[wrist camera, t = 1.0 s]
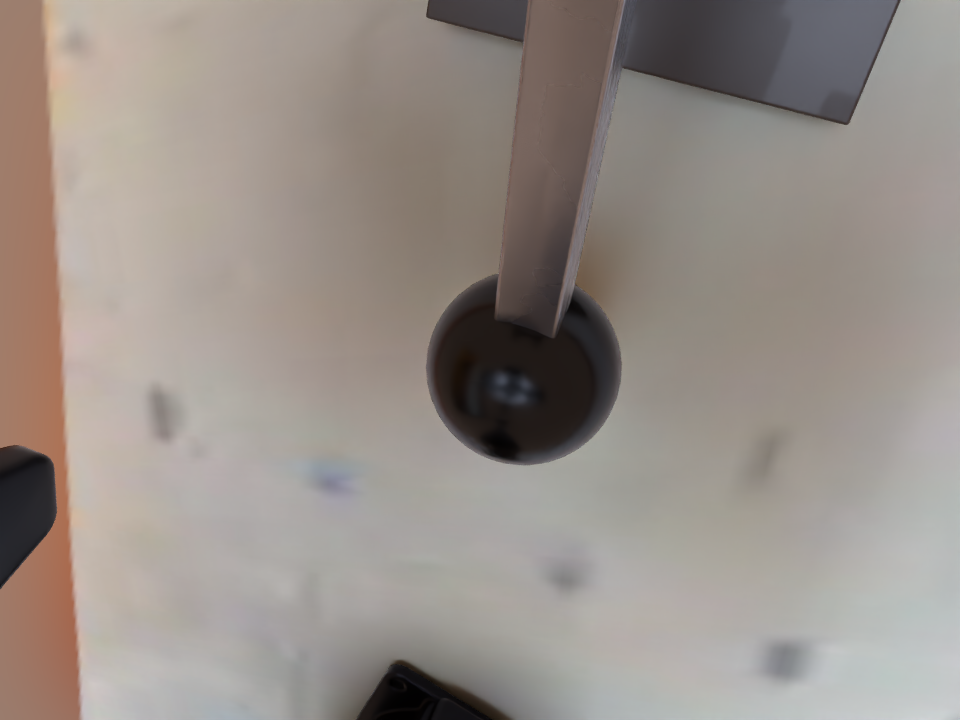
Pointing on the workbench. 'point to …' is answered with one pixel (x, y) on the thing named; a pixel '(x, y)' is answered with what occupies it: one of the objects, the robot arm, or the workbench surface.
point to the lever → (541, 257)
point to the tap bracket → (734, 45)
